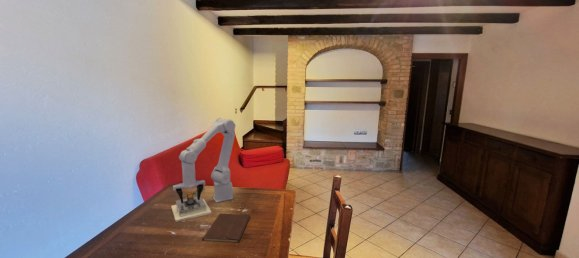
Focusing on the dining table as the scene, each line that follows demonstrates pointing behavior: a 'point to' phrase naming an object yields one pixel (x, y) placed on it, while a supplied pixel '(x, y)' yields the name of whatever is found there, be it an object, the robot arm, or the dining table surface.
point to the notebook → (227, 228)
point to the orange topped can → (190, 198)
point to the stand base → (178, 218)
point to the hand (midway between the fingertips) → (190, 200)
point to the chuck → (190, 207)
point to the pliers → (193, 194)
